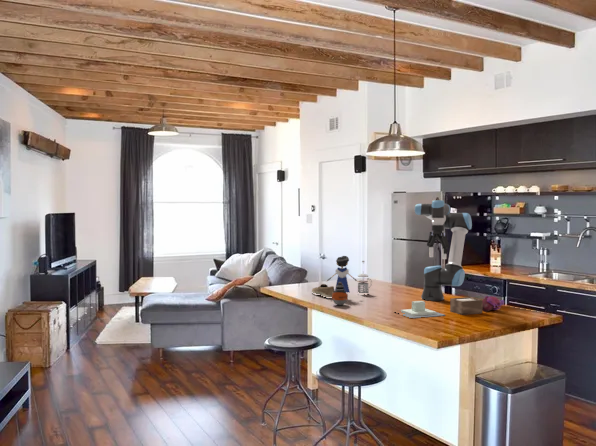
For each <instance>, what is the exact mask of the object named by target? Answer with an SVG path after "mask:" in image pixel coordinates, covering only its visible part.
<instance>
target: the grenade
mask: <svg viewBox="0 0 596 446" xmlns="http://www.w3.org/2000/svg"><path fill="white" fill-rule="evenodd" d="M343 286H344V285H342V282H338V285H337V286H336V285H335V288H336V290H335V289H334V290H335V291H334V293H333V294H332V299H331V300H332V302H333V303H334V304H335V305H336V304H337V306H343V305H345V304H346V303H347V301H348V296H349V294H348V292H347V291H346V292H345V291H344V290H343V289H344V288H345V287H343ZM345 290H346V289H345ZM342 304H343V305H342Z"/></svg>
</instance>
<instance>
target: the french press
mask: <svg viewBox="0 0 596 446" xmlns="http://www.w3.org/2000/svg"><path fill="white" fill-rule="evenodd" d="M361 263H365V260H362V261H361ZM357 277H359V278H366V279H367V280H357V281H358V282H357V293H358V292H359V293H369V289H370V288H371V287H372V286H373V285H372V284H373V281H372V279H371V278H370V277H369V275H368V274H366V273H364V272H362V273H359V274H358V275H357ZM368 280H369V281H368ZM369 282H370V283H369ZM369 284H370V285H369Z"/></svg>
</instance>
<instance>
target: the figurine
mask: <svg viewBox="0 0 596 446" xmlns="http://www.w3.org/2000/svg"><path fill="white" fill-rule="evenodd" d="M349 261H350V258H349V257H348V256H347V255H342V256H338V257H337V258H336V260H335V262H336V265H337V266H338V267H337V268H336V269H335V273H334V274H333V275H332V276H331V277H329V278H328V279H327V280H326V281H325V282H327V283H328V281H330V280H331V279H332V278H333V277H334V276H336V275H337V280H336V284H335V287H334V290H336V286H337V285H338V282H342V285H344V286H343V287H345V288H344V289H343V290H344V291H345V292H346V291H347V292H346V293H350V292H351V291H350V288H349V287H350V286H349V283H348V277H347V275H348V276H350V277H351V278H352V279H353V280H354V281H355V282H357V283H359V282H358V281H359V280H357V279H356V278H355V277H354V276H353V275H351V274H350V272H349V271H350V270H349V269H348V268H347V266H348V264H349ZM345 289H346V290H345Z"/></svg>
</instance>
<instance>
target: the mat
mask: <svg viewBox="0 0 596 446" xmlns="http://www.w3.org/2000/svg"><path fill="white" fill-rule="evenodd" d="M435 312H436V314H432V315H420V316H411V315H408V314H403V316H402V317H404V316H406V317H405V318H407V317H409V318H408V319H410V318H413V319H422V318H421V317H425V318H434V317H435V318H436V317H444V316H446V314H444V313H440V312H437V311H435Z"/></svg>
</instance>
